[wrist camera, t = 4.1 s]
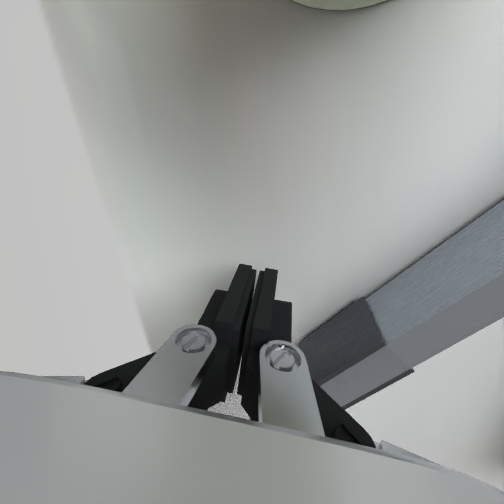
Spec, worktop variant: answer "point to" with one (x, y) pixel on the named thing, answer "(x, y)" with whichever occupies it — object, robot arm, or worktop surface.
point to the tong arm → (412, 314)
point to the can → (338, 4)
